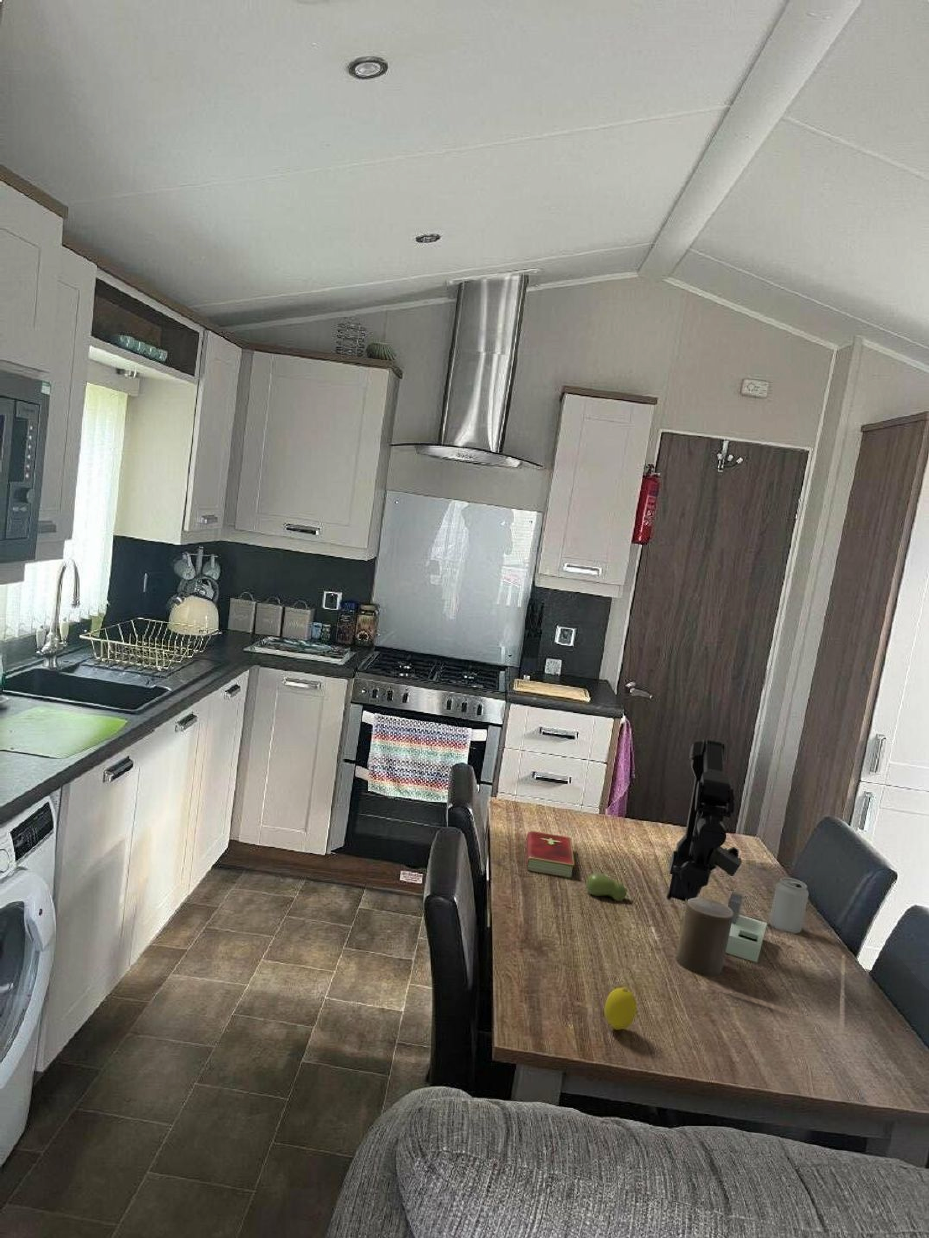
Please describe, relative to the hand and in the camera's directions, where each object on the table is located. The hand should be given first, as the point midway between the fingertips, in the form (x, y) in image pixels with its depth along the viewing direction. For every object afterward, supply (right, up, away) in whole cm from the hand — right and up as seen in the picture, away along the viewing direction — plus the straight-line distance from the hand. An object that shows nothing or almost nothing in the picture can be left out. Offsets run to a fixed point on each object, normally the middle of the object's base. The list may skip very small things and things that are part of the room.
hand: (693, 899), depth 212 cm
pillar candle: (-3, -10, -15) cm, 18 cm away
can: (+25, -12, +14) cm, 31 cm away
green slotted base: (+10, -7, -2) cm, 12 cm away
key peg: (-1, -9, +1) cm, 9 cm away
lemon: (-25, -10, -44) cm, 52 cm away
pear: (-18, -5, +17) cm, 25 cm away
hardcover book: (-30, -1, +36) cm, 47 cm away
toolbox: (+9, -11, -1) cm, 14 cm away
